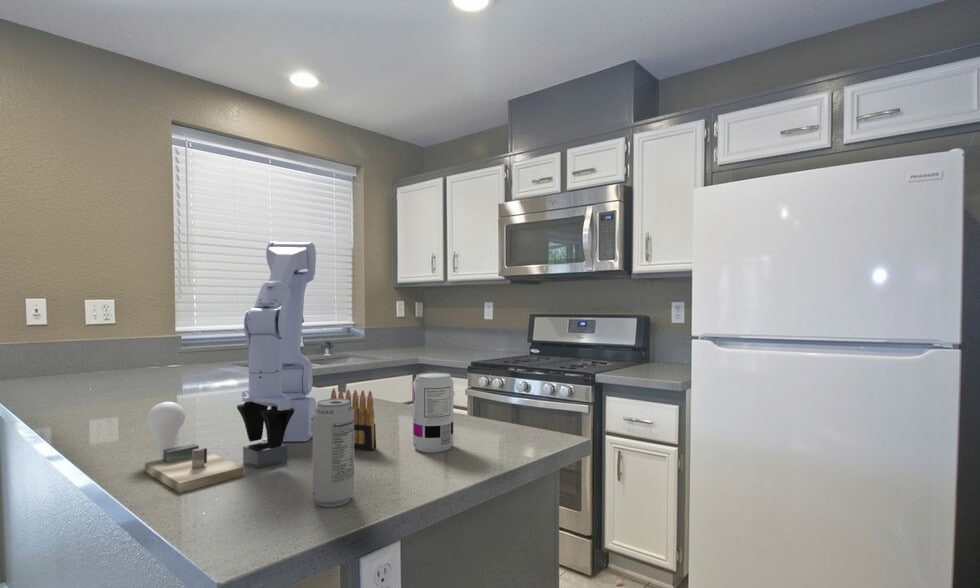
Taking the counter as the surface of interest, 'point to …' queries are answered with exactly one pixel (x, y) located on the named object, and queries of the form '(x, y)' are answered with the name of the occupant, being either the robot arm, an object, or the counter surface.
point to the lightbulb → (165, 424)
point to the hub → (264, 455)
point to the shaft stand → (191, 468)
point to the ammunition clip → (361, 419)
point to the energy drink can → (333, 452)
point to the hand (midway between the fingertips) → (265, 443)
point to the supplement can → (433, 412)
